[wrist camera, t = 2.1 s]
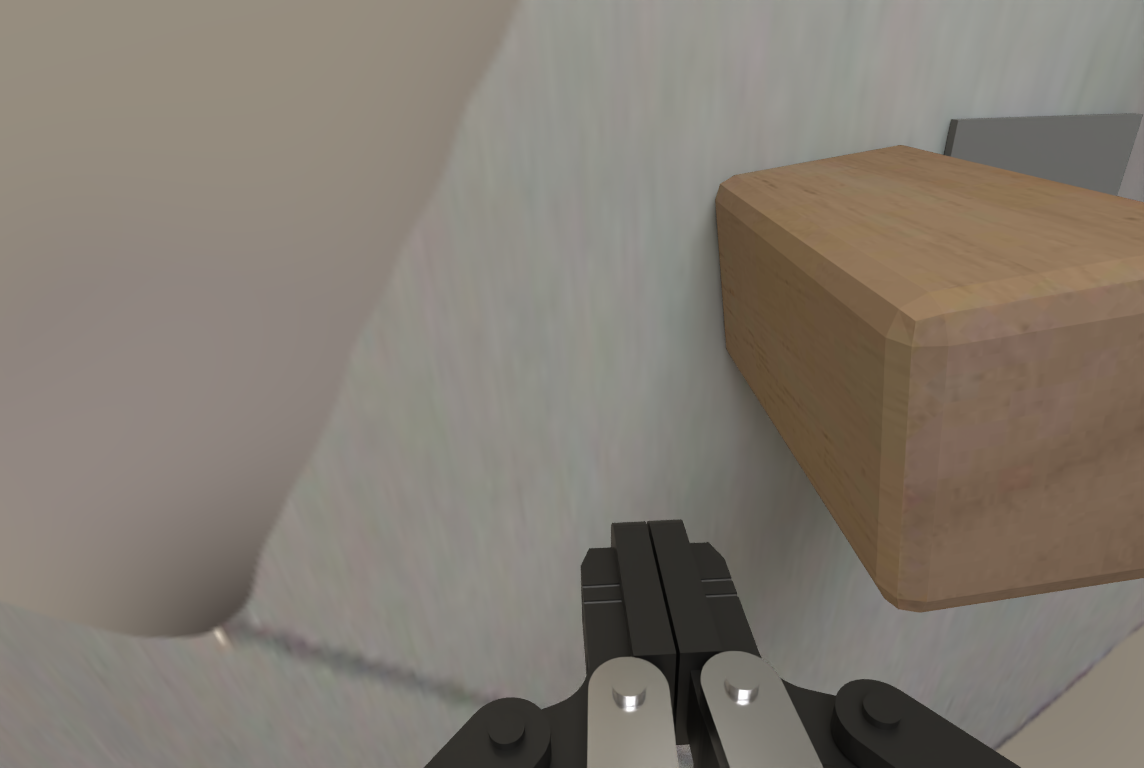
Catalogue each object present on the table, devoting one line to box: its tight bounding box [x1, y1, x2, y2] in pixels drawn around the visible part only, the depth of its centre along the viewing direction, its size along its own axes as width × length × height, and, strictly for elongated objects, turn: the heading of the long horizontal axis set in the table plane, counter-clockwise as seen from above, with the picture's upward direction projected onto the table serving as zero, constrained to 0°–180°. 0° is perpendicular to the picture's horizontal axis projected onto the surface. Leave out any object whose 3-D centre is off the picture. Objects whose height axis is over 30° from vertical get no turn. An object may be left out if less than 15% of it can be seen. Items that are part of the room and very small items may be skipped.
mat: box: [944, 113, 1143, 196], centre depth 35 cm, size 9×13×1 cm
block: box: [715, 145, 1144, 612], centre depth 26 cm, size 10×10×20 cm
